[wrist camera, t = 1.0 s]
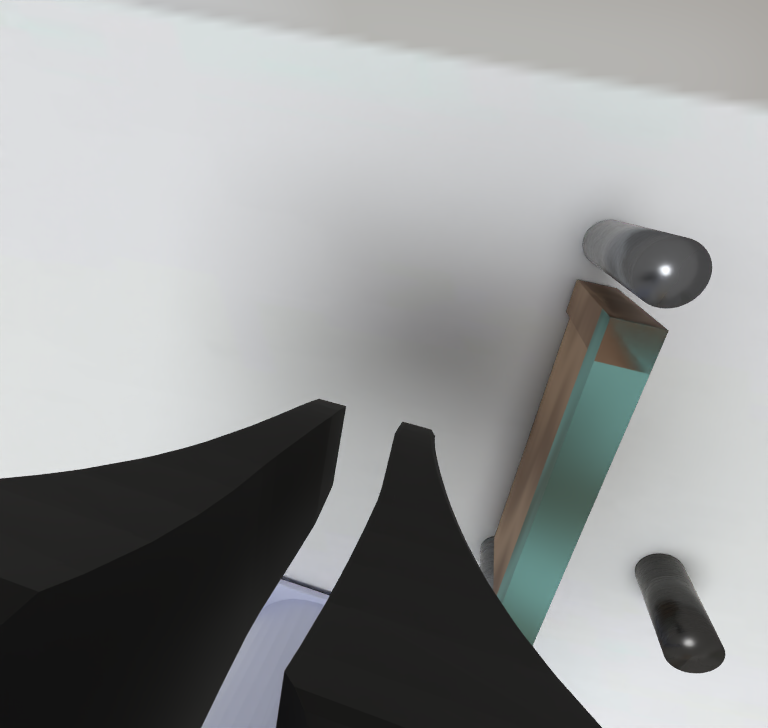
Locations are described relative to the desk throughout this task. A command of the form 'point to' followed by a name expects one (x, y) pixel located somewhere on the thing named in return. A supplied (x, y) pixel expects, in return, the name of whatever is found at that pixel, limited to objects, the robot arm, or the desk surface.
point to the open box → (571, 446)
